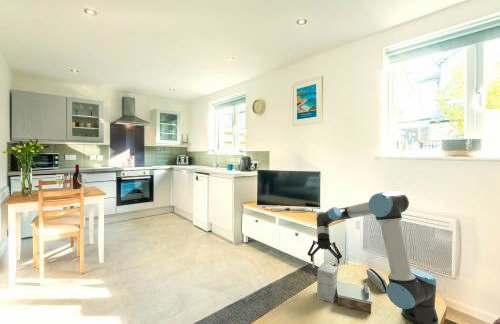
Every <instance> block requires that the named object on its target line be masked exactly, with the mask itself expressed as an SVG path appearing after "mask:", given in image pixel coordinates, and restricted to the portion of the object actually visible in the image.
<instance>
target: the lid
mask: <svg viewBox="0 0 500 324" xmlns="http://www.w3.org/2000/svg"><path fill="white" fill-rule="evenodd" d="M338 297H340V298H345V299H350V300H355V301H359V302H364V303H369V304H371V305H372V304H373V300H372V296H371V291H370V287H369V286H368V283H366V282H364V283H363V285H361V284H356V283H349V282H344V281H339V280H337V298H338Z"/></svg>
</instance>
